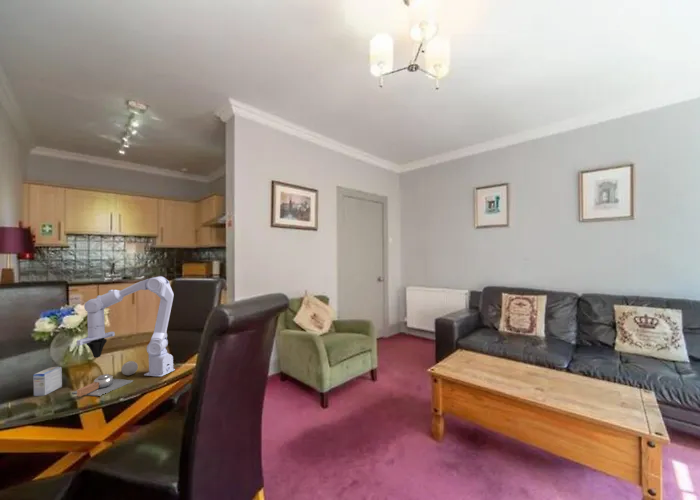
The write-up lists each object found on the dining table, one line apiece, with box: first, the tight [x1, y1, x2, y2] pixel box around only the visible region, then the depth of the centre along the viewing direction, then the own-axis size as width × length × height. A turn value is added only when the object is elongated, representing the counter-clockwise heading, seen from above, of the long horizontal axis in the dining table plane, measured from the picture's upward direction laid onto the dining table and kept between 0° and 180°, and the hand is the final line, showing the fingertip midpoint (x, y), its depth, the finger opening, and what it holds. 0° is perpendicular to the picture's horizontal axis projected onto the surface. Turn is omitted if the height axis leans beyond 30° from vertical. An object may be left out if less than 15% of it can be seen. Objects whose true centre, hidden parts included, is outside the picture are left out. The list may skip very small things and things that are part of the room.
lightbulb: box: [121, 360, 139, 376], centre depth 142 cm, size 6×6×11 cm
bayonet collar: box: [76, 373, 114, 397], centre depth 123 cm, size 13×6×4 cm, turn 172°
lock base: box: [71, 378, 134, 397], centre depth 127 cm, size 14×14×1 cm
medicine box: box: [32, 366, 63, 397], centre depth 125 cm, size 8×4×9 cm, turn 5°
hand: (97, 357), depth 134 cm, fingers closed
